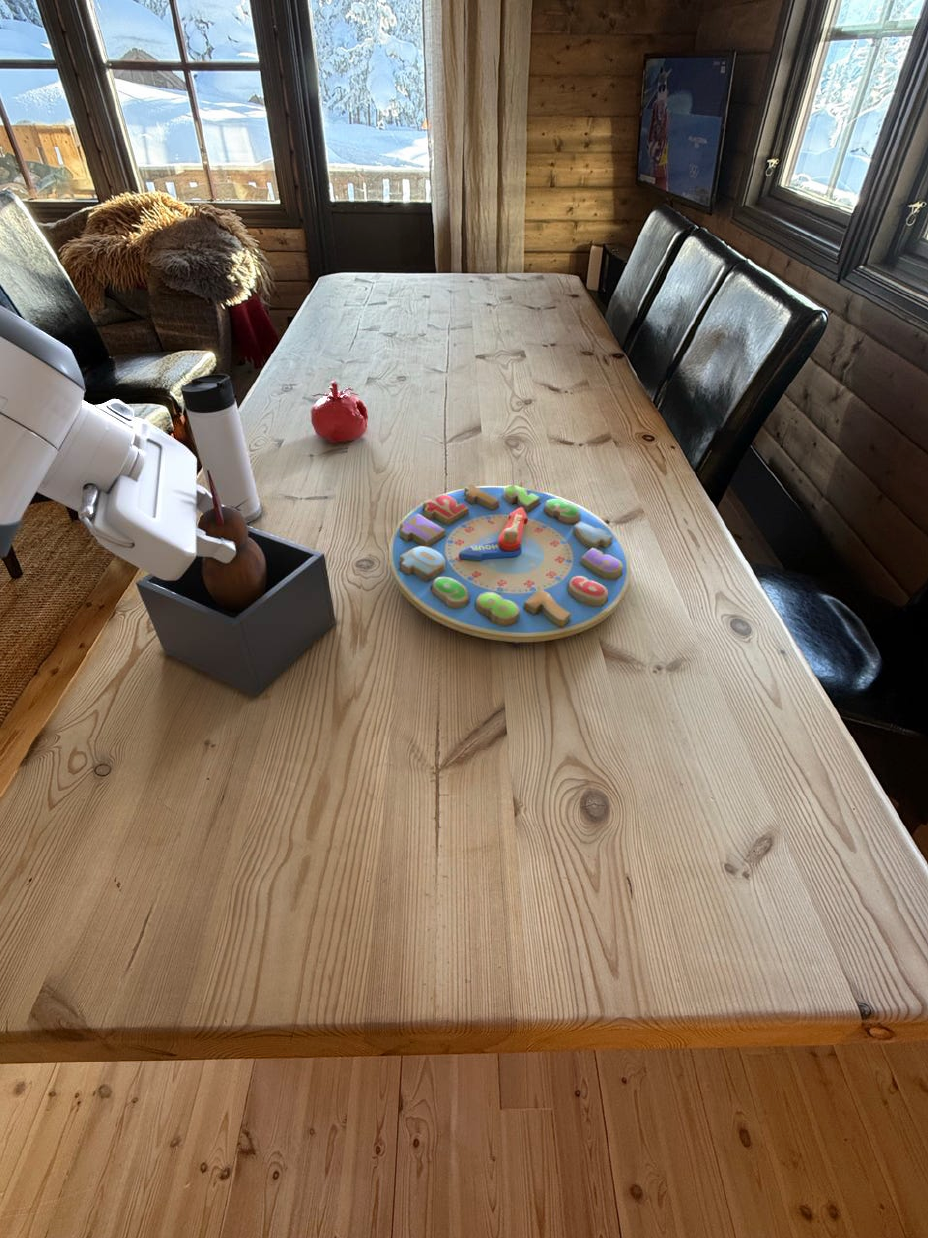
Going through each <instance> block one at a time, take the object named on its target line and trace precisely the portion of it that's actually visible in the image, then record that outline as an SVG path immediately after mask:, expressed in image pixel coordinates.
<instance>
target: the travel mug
mask: <svg viewBox="0 0 928 1238" xmlns="http://www.w3.org/2000/svg"><path fill="white" fill-rule="evenodd" d="M232 384H233V383H232V379H231V377H230V376H229V375H228V374H225V373H213V374H206V375H203V376H198V377H195V378H193V379H191V381H189V382H187V383H186V384H182V385H181V386H180V392H181V395H182V399H183V401H184V408H185V411H186V415H187V418H188V422H189V425H190V428H191V432H192V436H193V440H194V442H195V443H194V444H195V447H196V450H197V453H198V457H199V460H200V462H201V467H202V470H203V474H204V477H205V481H206V484H207V488H208V492H209V493H210V494H211V490H210V485H209V479H208V474H207V470H209V472H210V475H211V477H212V480H213V483H214V485H215V488H216V491H217V494H218V496H219V499H220V502H221V504H222V505H224V506H229V507H233V508H235V509H237V510H238V511H239V512H241V514H242V515H243V516H244V518H245V521H246V524H249V523H252V522H253V521H256V519H258V518H259V517H260V515H261V513H262V508H261V503H260V498H259V495H258V490H257V486H256V481H255V477H254V473H253V469H252V464H251V460H250V456H249V452H248V447H247V443H246V438H245V435H244V430H243V426H242V422H241V417H240V414H239V413H240V412H239V410H238V409H239V408H238V405H237V401H236V398H235V394H234V389H233V386H232Z"/></svg>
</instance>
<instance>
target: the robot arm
mask: <svg viewBox="0 0 928 1238" xmlns="http://www.w3.org/2000/svg"><path fill="white" fill-rule="evenodd" d="M86 392H87V390H86V385H85V381H84V377H83V374H82V371H81V368H80V367H79V364H78V361H77V359H76V357H75V355H74V353H73V351H72V349H71V348H69V347H68V346H67V345H65V344H64V343H62V342H61V341H60V340H57V339H56V338H54V337H52V336H51V335H49V334H47V333H46V332H45V331H43V330H41V329H40V328H38V327H37V326H35V325H33V324H32V323H30V322H28V321H27V320H26V319H24V318H22V317H20V316H19V315H17V314H16V313H14V312H13V311H11V310H9V309H8V308H6V307H4V306H2V305H1V304H0V560H1V559H4V558H6V557H7V556H8V554H9V552H10V549H11V548H12V545H13V543H14V540H15V538H16V536H17V534H18V531H19V529H20V527H21V526H22V525H21V524H22V522H23V520H24V518H23V516H24V514H25V512H26V510H27V509H28V507H29V505H30V504H31V502H32V500H33V498H34V496H35V494H36V493H38V494H40V495H43V497H46V498H48V499H50V500H53V501H55V502H57V503H59V504H61V505H63V506H65V507H67V508H70V509H71V510H74V511H76V512H77V513H78V519H79V520H80V521H81V522H83V523H84V525H85V527H87V529H89V533H90V534H91V535H92V536H93V537H95V539H96V541H97V542H98V543H99V544H100V545H101V546H102V547H103V548H105V549H106V550H107V551H109V552H111V553H112V554H114V555H115V556H117V557H119V558H121V559H122V560H124V561H125V562H128V563H129V564H130V565H133V566H134V567H137V568H138V569H140V570H142V571H144V572H146V573H147V574H152V575H154V576H156V577H158V578H160V579H162V580H178V579H179V578H180V577H181V576H182V575H183V573H184V572H185V571H186V570H187V569H188V567H189V566H190V565H191V563H192V562H193V561H194V559H195V557H196V556H203V557H213V558H215V559H217V560H219V561H221V562H223V563H229V562H230V561H231V560H232V559H233V558H234V556H235V555H236V546H235V543H234V542H232V541H229V540H228V539H227V538H225V537H223V536H220V538H219V539H217V538H213V537H209V536H206V533H205V532H204V531H203V530H201V529H199V528H198V523H197V521H198V520H197V519H198V518H197V517H198V516H197V514H198V513H197V512H198V511H199V512H201V513H202V514H203V513H205V512H206V511H208V510H210V509H213V508H214V505H213V500H212V494H210V491H209V490H207V489H206V488H205V487H204V486H202V485H200V484H198V475H197V474H198V459H197V457H196V455H195V454H194V453H193V452H192V451H191V450H190V449H189V448H188V447H187V446H186V445H184V444H183V443H182V442H180V441H178V440H177V439H175V438H174V437H172V435H169V434H168V433H167V432H165V431H164V430H162V429H160V428H159V427H157V426H155V425H154V424H152V423H150V422H149V421H147V420H145V419H143V418H140V417H135V416H136V413H135V410H134V409H133V407H131V406H129V404H126V403H125V402H123V401H122V400H120V399H116V398H112V399H110V400H107V401H106V402H104V403H101V404H100V403H99V404H95V405H93V404H91V403H88V402H87V401H85V400H84V398H85V393H86ZM221 505H222V504H221ZM222 506H224V505H222ZM197 510H198V511H197Z"/></svg>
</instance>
